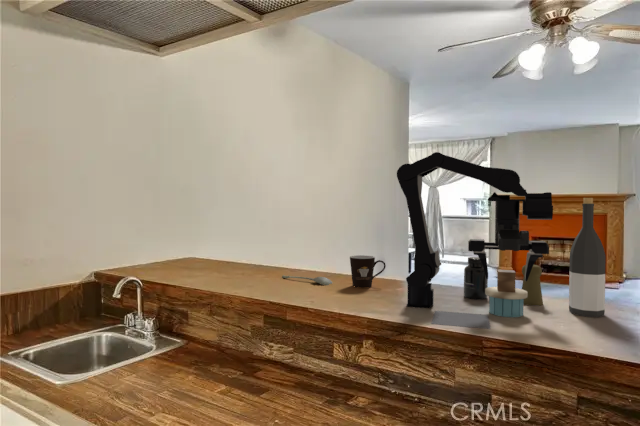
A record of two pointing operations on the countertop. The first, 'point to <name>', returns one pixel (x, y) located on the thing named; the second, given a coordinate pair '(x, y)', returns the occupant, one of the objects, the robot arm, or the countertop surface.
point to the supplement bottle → (475, 279)
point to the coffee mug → (363, 270)
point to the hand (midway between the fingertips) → (506, 279)
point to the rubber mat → (461, 319)
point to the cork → (533, 286)
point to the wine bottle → (587, 269)
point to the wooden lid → (506, 287)
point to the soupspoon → (318, 279)
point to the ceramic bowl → (506, 307)
